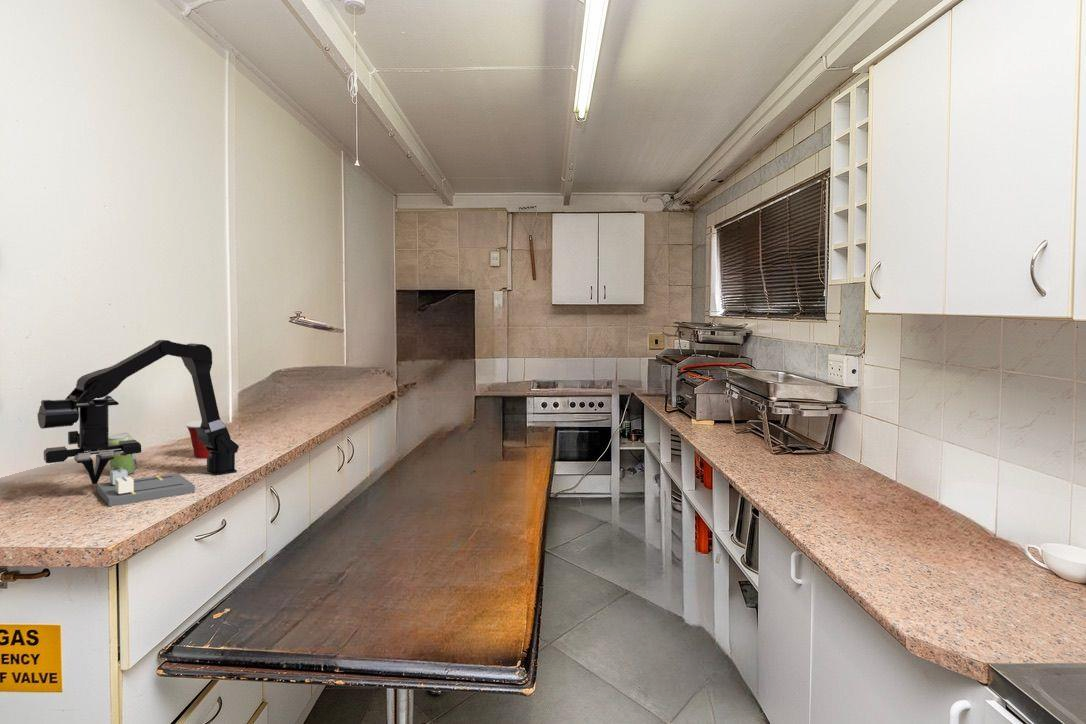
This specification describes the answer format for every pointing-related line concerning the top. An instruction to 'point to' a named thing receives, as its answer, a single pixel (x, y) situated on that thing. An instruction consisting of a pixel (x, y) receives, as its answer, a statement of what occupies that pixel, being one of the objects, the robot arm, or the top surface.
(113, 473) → the white fader
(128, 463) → the beverage can
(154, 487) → the console
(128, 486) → the cream fader
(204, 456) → the plastic cup
